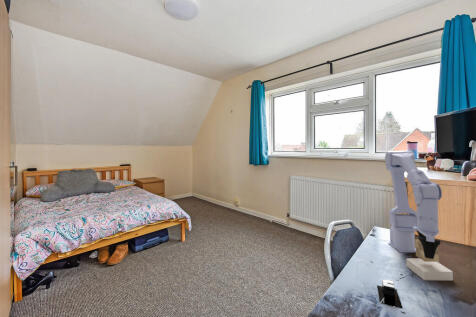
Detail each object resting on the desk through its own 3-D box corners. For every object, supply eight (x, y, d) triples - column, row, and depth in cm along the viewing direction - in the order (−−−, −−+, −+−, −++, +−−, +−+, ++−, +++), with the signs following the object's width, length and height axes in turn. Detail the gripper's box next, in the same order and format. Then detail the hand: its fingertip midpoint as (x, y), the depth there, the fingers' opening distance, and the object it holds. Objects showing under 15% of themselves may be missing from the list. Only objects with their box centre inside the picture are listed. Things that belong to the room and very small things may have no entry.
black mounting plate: (407, 315, 60) (406, 299, 60) (376, 307, 63) (376, 292, 63) (398, 288, 71) (398, 275, 71) (372, 283, 74) (372, 270, 74)
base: (406, 266, 82) (406, 258, 82) (431, 266, 82) (431, 258, 82) (424, 280, 74) (424, 271, 73) (452, 280, 73) (452, 271, 73)
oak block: (416, 255, 80) (415, 239, 80) (429, 255, 79) (428, 239, 79) (424, 261, 76) (423, 244, 76) (438, 261, 75) (438, 244, 75)
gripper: (411, 210, 85) (412, 243, 86) (414, 221, 73) (415, 260, 74) (435, 212, 81) (435, 247, 81) (442, 224, 69) (443, 265, 70)
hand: (427, 254), depth 77 cm, fingers closed on oak block, 6 cm apart
